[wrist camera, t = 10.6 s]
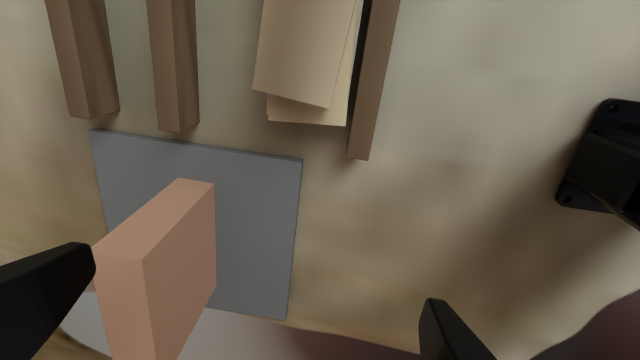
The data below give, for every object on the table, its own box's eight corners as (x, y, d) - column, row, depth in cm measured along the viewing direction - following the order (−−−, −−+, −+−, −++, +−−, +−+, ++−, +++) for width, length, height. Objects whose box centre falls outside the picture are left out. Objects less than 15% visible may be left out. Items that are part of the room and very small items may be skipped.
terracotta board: (214, 183, 21) (141, 260, 14) (216, 285, 25) (160, 387, 18) (177, 177, 21) (86, 251, 14) (185, 280, 25) (117, 380, 18)
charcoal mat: (303, 159, 20) (302, 162, 20) (286, 315, 26) (285, 320, 26) (93, 128, 21) (88, 130, 20) (123, 288, 27) (119, 292, 26)
